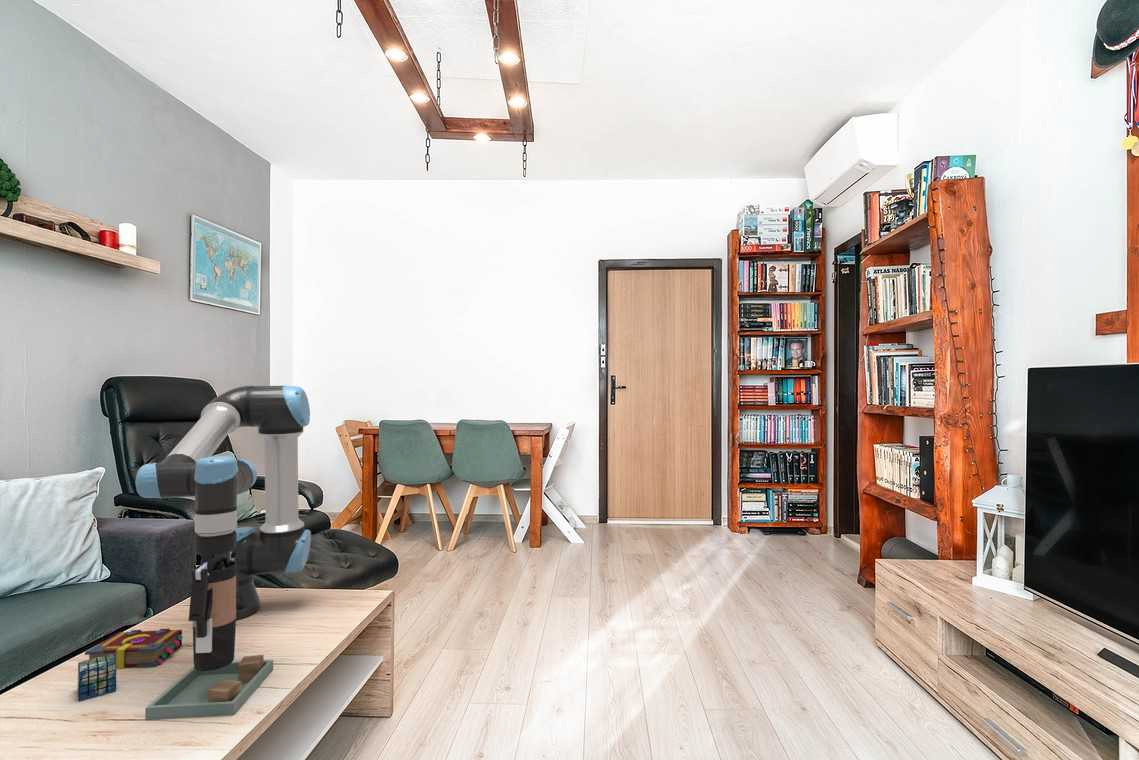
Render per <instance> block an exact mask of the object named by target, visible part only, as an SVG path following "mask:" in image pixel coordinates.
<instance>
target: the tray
mask: <svg viewBox="0 0 1139 760" xmlns="http://www.w3.org/2000/svg"><path fill="white" fill-rule="evenodd" d="M240 661H241V660H238V661H233V662H232V663H231V664H229V665H227V666H225V667H223V668H220V669H216V670H212V671H197V670H195V669H194V666H193V667H191V668H190V669H188V671H186V673H185V674H183V675H181V677H180V678H179V679H178V680H176V681H175V682H174V683H172V684H171V686H169V687H168V688H167V689H166V690H164V692H162V693H161V694H160V695H159V696H158V697H156V698H155V699H154V700H153V701H151V703H150V704H148V705H147V706H146V707H145V713H144V715H145V716H144V717H145V718H144V719H145V721H148V720H149V721H152V720H153V721H154V720H167V719H168V720H170V719H185V718H186V719H187V718H189V719H190V718H206V717H209V718H210V717H222V716H223V717H224V716H225V717H226V716H228V717H229V716H235V714H236V713H237V712H238V711H239V710H240V709H241V708H242V707H243V706H244V704H245V703H247V701H248V700H249V698H251V696H252V695H253V694H254V693H255V691H256V690H257V689H258V688H259V687H260V686H261V685H262V683H263V682H264V681H265V680H266V679H267V677H268V676H269V675H270V674H271V673H272V672H273V670H274V659H264V661H263V668H262V669H261V670H260V671H259V672H258V673H257V674H256V675H255V676H254V677H253V679H252V680H251V681H250V682H249V683H242V687H241V692H240V693H239V694H238V695H237V696H236V697H235V698H234V699H233V701H229V702H210V703H208V690H209V689H211V688H212V687H214V686H215V685H217V684H218V683H220V682H221V681H223V680H232V681H238V665H239V663H240Z"/></svg>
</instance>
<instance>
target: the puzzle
mask: <svg viewBox="0 0 1139 760" xmlns="http://www.w3.org/2000/svg"><path fill="white" fill-rule="evenodd" d="M116 691H117V669H116V660H115V655H114V654H111V655H106V658H105V656H102V657H98V658H97V660H96V658H94V659H90V660H89V659H88V660H87V659H86V660H82V661H79V662H78V663H77V696H78V697H77V698H78V701H79V702H82V701H85V700H88V699H89V700H90V699H92V698H96V697H99V696H104V695H106V694H111V693H114V692H116Z"/></svg>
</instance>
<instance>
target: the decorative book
mask: <svg viewBox="0 0 1139 760" xmlns="http://www.w3.org/2000/svg"><path fill="white" fill-rule="evenodd" d="M183 638H184V637H183V630H182V629H170V628H160V629H158V630H142V629H132V630H130V631H118V632H117V633H115V634H113V635H112V636H110V637H109V638H107V639H106V640H104V641H102V642H100V643H99V644H96V645H94V646H92V647H90V648H89V649H87V650H85V651H84V655H85V656H88V660H90V659H94V658H96V660H97V658H98V657H102V656H105V658H106V655H111V654H114V655H115V660H116V670H123V669H125V668H134V667H137V668H154V667H157V666H158V665H159V664H160V665H164V664H165V660H166V658H168V656H169V655H171V654H173V653H174V652H175V651H176V650H177V649H179V648H180V647H181V646H182V645H183V641H182V640H183Z"/></svg>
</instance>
